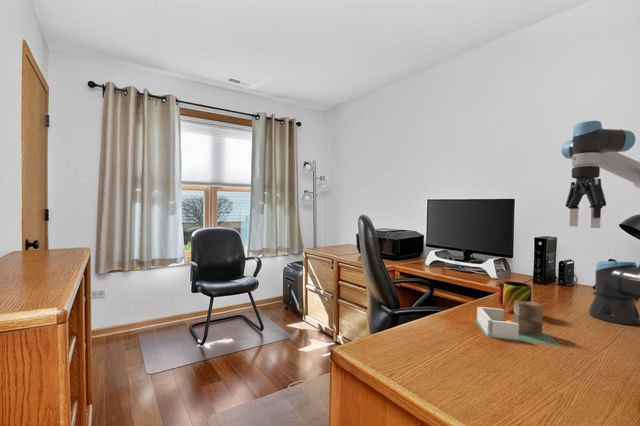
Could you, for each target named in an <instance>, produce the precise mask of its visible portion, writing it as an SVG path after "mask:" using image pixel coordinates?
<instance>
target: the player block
mask: <svg viewBox="0 0 640 426" xmlns="http://www.w3.org/2000/svg"><path fill="white" fill-rule="evenodd" d="M543 314H544V306H543V305H542V304H540V303H539V302H536V301H531V302H526V301H516V300H515V302H514V315H513V322H514V323H518V324H519V334H525V335H534V336H542V330H543V321H544V320H543V316H544V315H543Z"/></svg>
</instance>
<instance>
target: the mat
mask: <svg viewBox="0 0 640 426" xmlns="http://www.w3.org/2000/svg"><path fill="white" fill-rule="evenodd" d="M474 321H475V323H476V324H477V326H478V327H479V329H480V330H481V332H482V333H483V334H484V336H485V337H486V338H491V339H492V338H493V339H500V340H508V341H515V342H517V341H518V342H523V343H524V342H525V343H532V344H540V345H541V344H542V345H543V344H544V345H548V346H549V345H550V346H557V347H558V346H559V347H562V345H561V344H560V343H558V342H557V341H556V340H555V339H554V338H553V337H551V335H549V334H548V333H547V332H545V330H543V329H542V336H534V335H525V334H519V335H518V340H515V339H507V338H499V337H490V336H488V335H487V334H486V332H485V331H484V329H483V328H482V327H481V325H480V324H479V322H478V321H477V318H474Z"/></svg>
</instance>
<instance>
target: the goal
mask: <svg viewBox="0 0 640 426" xmlns="http://www.w3.org/2000/svg"><path fill="white" fill-rule="evenodd" d="M504 318H505V312H504V310H503V308H498V307H497V308H496V307H495V308H494V307H485V306H477V307H476V319H477V321H478V322H479V324H480V325H481V327H482V328H483V329H484V331H485V332H486V334H487V335H488V336H490V337H499V338H507V339H515V340H518V335H519V324H518V323H513V322H514V321H512V322H506V321H505V319H504ZM490 337H489V338H490ZM507 339H506V340H507ZM515 340H514V341H515Z"/></svg>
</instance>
